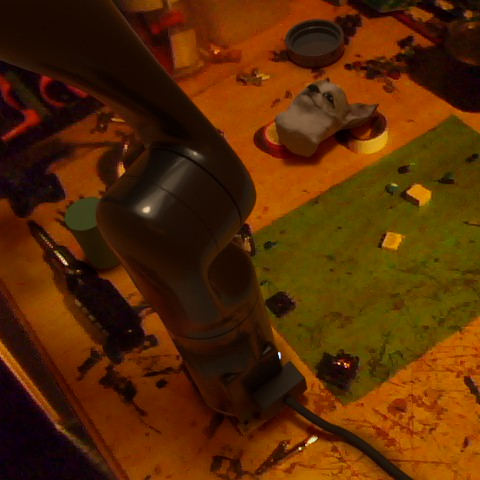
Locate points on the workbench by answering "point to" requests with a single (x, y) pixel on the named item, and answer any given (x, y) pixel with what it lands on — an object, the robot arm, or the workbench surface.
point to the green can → (89, 233)
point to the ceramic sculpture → (318, 117)
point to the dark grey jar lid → (315, 43)
